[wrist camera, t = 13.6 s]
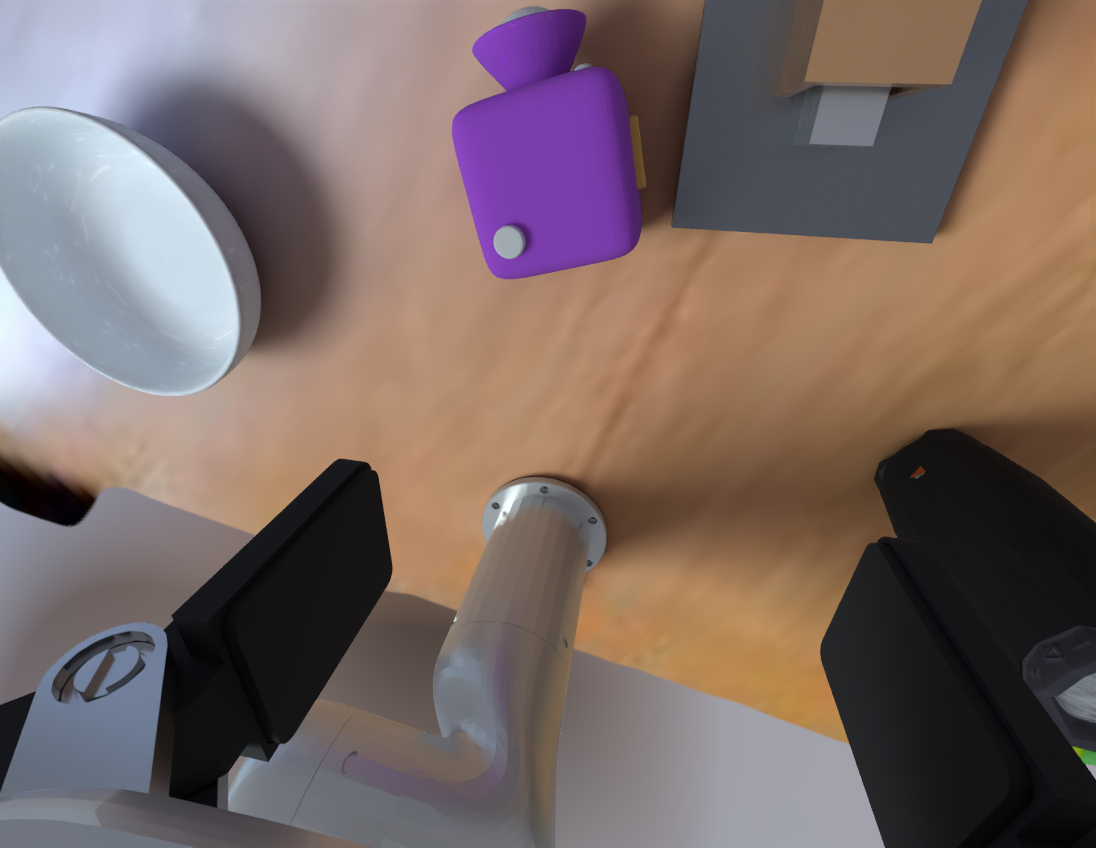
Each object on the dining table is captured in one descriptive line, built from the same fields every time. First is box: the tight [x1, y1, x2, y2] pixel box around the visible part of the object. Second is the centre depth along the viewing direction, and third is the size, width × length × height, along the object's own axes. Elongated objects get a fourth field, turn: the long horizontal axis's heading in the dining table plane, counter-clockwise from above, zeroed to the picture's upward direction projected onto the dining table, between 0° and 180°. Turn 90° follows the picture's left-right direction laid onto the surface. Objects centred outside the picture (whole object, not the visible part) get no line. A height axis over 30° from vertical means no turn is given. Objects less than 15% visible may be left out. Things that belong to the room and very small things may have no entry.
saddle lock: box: [777, 0, 982, 99], centre depth 24 cm, size 7×6×6 cm
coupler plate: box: [671, 0, 1028, 244], centre depth 24 cm, size 22×16×8 cm
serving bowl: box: [0, 107, 261, 396], centre depth 39 cm, size 21×21×7 cm
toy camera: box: [452, 7, 646, 279], centre depth 29 cm, size 11×14×10 cm
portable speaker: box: [874, 429, 1096, 752], centre depth 30 cm, size 9×9×20 cm
